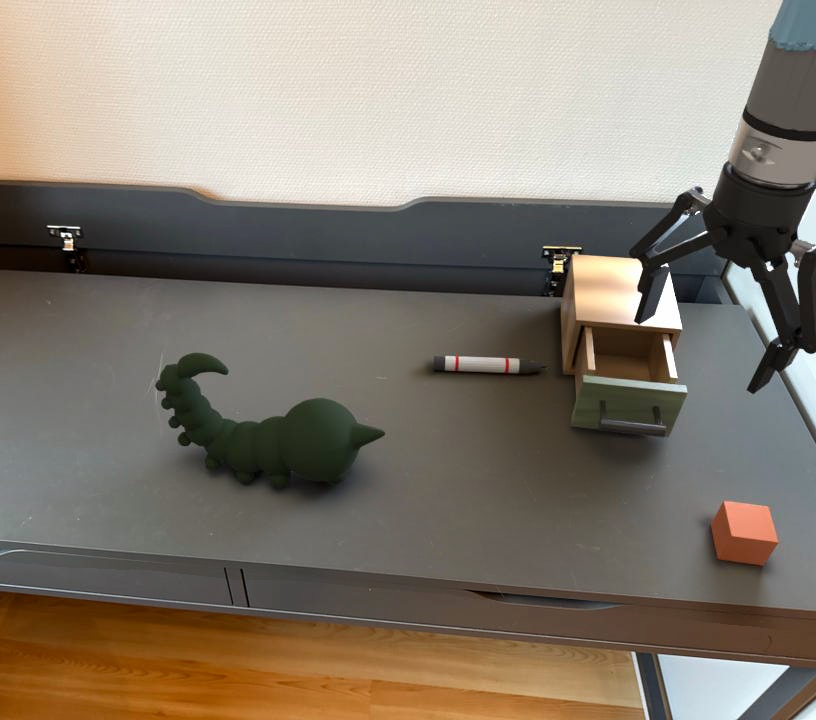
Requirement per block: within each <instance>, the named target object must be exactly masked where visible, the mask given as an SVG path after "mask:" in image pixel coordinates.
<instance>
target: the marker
mask: <svg viewBox="0 0 816 720" xmlns="http://www.w3.org/2000/svg"><path fill="white" fill-rule="evenodd" d="M548 367H549V365H543V364H542V362H539V361H532V360H531V359H528V358H511V357H510V358H509V357H487V356H485V357H483V356H460V355H459V356H455V355H434V356H433V370H434V371H451V372H472V373H473V372H474V373H475V372H477V373H499V374H530V373H532V372H541V370H547V369H548Z"/></svg>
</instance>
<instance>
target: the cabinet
mask: <svg viewBox="0 0 816 720" xmlns="http://www.w3.org/2000/svg"><path fill="white" fill-rule="evenodd" d="M668 264H669V263H667V264H665V266H667V267H669V265H668ZM663 266H664V265H663ZM661 267H662V266H661ZM642 269H643V268H642V264H641V262H640V261H639V260H638V259H633V258H631V257H630V258H629V257H616V256H602V255H589V254H576V253H572V254H571V257H570V261H569V266H568V270H567V276H566V279H565V284H564V289H563V293H562V299H561V304H560V326H561V328H560V329H561V331H560V332H561V353H562V357H561V358H562V374H563V375H568V376H575V366H574V353H575V349H576V345H577V341H578V337H579V333H580V328H581V325H586V326H597V327H609V328H620V329H631V330H642V331H653V332H664V333H668V334H669V339H670V344H671V349H672V354H673V355H674V353H675V350H676V348H677V345H678V342H679V340H680V337H681V334H682V331H683V326H682V322H681V318H680V312H679V308H678V304H677V299H676V296H675V291H674V286H673V282H672V277H671V273H670V272H669V275H668V278H667V281H666V284H665V287H664V290H663V293H662V295H661V298H660V301H659V304H658V307H657V310H656V313H655V315H654V316H653V317H651V318H650V319H648V320H646V321H645V322H643V323H641V324H640V325H639V324H637V323H636V322H634V319H635V316H636V312H637V309H638V306H639V303H640V300H641V297H642V294H641V293H640V292H638V290H637V286H638V283H639V280H640V276H641V273H642Z"/></svg>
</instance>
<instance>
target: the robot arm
mask: <svg viewBox="0 0 816 720" xmlns="http://www.w3.org/2000/svg"><path fill="white" fill-rule="evenodd" d="M777 11H778V12H777V14H776V17H775V18H774V20H773V23H772V25H771V26H770V28H769V30H768V34H767V35H768V36H767V41H766V44H765V48H764V51H763V54H762V57H761V60H760V63H759V64H758V65H759V66H758V69H757V72H756V74H755V77H754V80H753V82H752V85H751V89H750V92H749V94H748V97H747V100H746V103H745V106H744V108H743V111H742V114H741V117H740V118H739V121H738V124H737V127H736V130H735V133H734V136H733V138H732V141H731V144H730V146H729V149H728V151H727V161H726V162H724V163H723V165H722V168H721V170H720V174H719V177H718V180H717V182H716V184H715V187H714V189H713V190H714V191H713V193H712V199H710V198H709V197H707V196H706V195H704V194H705V193H704V189H703V187H701V186H700V185H695V186H693V187H692V188H689V189H687V190H684V192H682V193H680V194H678V195H677V196H676V199H675V201H674V203H673V205H672V207H671V209H670V211H669V212H668V213H667V214H666V215H665V216H664V217H663V218H662V219H661V220H660V221H659V222H657V223H656V224H655V225H654V226H652V228H651V229H650V230H649V231H648V232H647V233H646V234H645V235H644V236H642V238H640V239H639V240H638V241H637V243H635V244H634V245H633V246H632V247H631V248H630V249H629V251H628V255H629V257H630V258H632V259H638V260H639V261H640V262H641V264H642V268H643V269H642V273H641V276H640V280H639V283H638V286H637V290H638V292H640V293H641V294H642V297H641V300H640V303H639V306H638V309H637V312H636V316H635V319H634V322H636V323H637V324H639V325H640V324H641V323H643V322H645V321H646V320H648V319H650V318H651V317H653V316H654V315H655V313H656V310H657V307H658V304H659V301H660V298H661V295H662V293H663V290H664V287H665V284H666V281H667V278H668V275H669V273H670V272H671V267H669V266H668V267H667V266H665V264H669V263H672V262H674V261H676V260H679V259H681V258H683V257H686V256H689V255H690V254H692V253H695V252H698V251H700V250H703V249H705V248H707V247H709V246H710V247H711V248H712V250H713V251H714V252H715V253H714V255H715V256H717V257H719V258H721V259H724V260H729V261H731V262H732V263H733V264H734V265H736V266H737V267H739V268H741V269H743V270H746V269H750V272H751V275H752V278H753V280H754V282H756V283H758V284H759V286H760V289H761V293H762V294H763V297H764V301H765V303H766V306H767V308H768V311H769V314H770V316H771V320H772V322H773V325H774V327H775V331H776V333H777V337H775V338H773V339H772V340H771V341H770V342H769V344H768V346H767V348H766V349H765V352H764V354H763V356H762V358H761V360H760V361H759V364H758V366H757V368H756V370H755V372H754V373H753V375H752V378H751V380H750V381H749V384H748V385H747V388H746V391H747V392H748V393H750V394H752V395H754V394H756V393H757V392H758V391H760V390H761V389H763V388H764V387H765V386H767V385H768V384H769V383H770V381H771V380H772V378H773V376H774V374H775V372H777V373H781V372H782V371H784V370H786V369H787V368H788V367H790V366H791V365H792V364H793V362H794V361H795V358H796V357H797V354H798V353H799V351H800V350H803V351H804V352H805V353H807V354H809V355H814V354H816V243H814V242H813V243H812V242H809V241H806V240H804V239H800V238H799V229H800V228H799V227H800V225H801V223H802V221H803V220H804V218H805V216H806V214H807V211H808V209H809V207H810V204H811V203H812V200H813V199H814V197H815V194H816V0H782V2H781V4H780V7H779V9H778V10H777ZM698 213H702V215H701V216H702V220H703V223H704V227H705V230H706V231H703V232H701V233H699V234H697V235H695V236H693V237H691V238H689V239H686V240H684V241H682V242H679V243H677V244H675V245H672V246H671V247H668V248H667V249H664V250H661V251H659V252H657V251H656V250H655V248H656V247H657V246H659V244H660V243H662V242H663V241H664V240H665V239H666V238H667V237H668V236H669V235H671V234H672V233H673V232H674V231H675V230H676V229H677V228H678V227H679V226H680V225H681V224H683V223H684V222H685V221H686V220H687V219H688V218H689V217H693V216H695V215H697V214H698ZM788 253H790V254H791V255H792V256H793V257H794V263H793V267H794V268H796V269H797V274H796V283H797V295H796V292H795V289H794V286H793V284H792V281H791V278H790V276H789V273H788V270H789V262H788V260H787V256H786V254H788ZM769 262H770V263H769ZM767 263H769V266H767ZM663 265H664V266H663ZM661 266H662V267H661ZM797 296H798V298H797Z"/></svg>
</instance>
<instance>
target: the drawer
mask: <svg viewBox="0 0 816 720" xmlns="http://www.w3.org/2000/svg"><path fill="white" fill-rule="evenodd" d="M574 366H575V375H574V383H575V397H576V398H575V402H574V403H575V404H574V407H573V410H572V415H571V418H570V423H571V425H570V426H571V427H573V428H584V429H593V430H599V431H604V432H614V433H622V434H629V435H639V436H648V437H655V438H670V436H671V434H672V431H673V429H674V426H675V424H676V421H677V419H678V416H679V414H680V412H681V409H682V407H683V406H684V403H685V400H686V397H687V396H688V388H687V386H686V385H682V384H676V383H677V380H678V375H677V370H676V364H675V360H674V353H673V354H672V349H671V344H670V339H669V334H668V333H664V332H653V331H642V330H631V329H620V328H609V327H597V326H586V325H581V328H580V333H579V337H578V341H577V345H576V349H575V353H574Z"/></svg>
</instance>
